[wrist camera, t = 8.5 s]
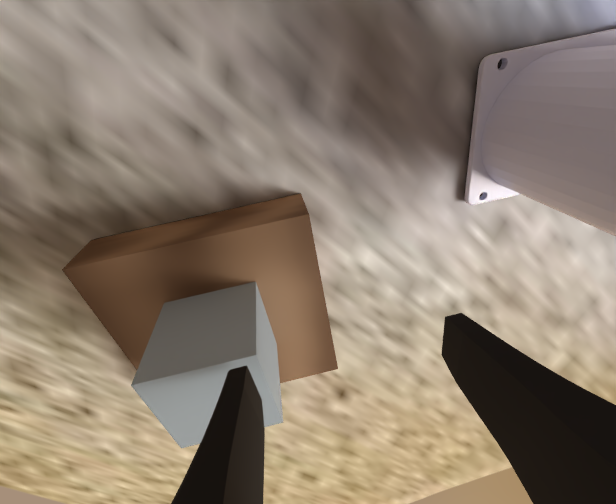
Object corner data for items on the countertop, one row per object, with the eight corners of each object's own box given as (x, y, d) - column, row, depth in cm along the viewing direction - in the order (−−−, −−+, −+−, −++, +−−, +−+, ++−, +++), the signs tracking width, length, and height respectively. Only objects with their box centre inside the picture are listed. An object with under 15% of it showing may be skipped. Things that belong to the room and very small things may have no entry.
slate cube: (255, 281, 16) (256, 354, 12) (276, 343, 19) (283, 422, 15) (163, 302, 16) (131, 385, 12) (197, 363, 19) (181, 448, 14)
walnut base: (300, 193, 17) (308, 214, 15) (328, 336, 23) (337, 368, 21) (91, 240, 17) (61, 269, 14) (177, 373, 23) (167, 411, 20)
